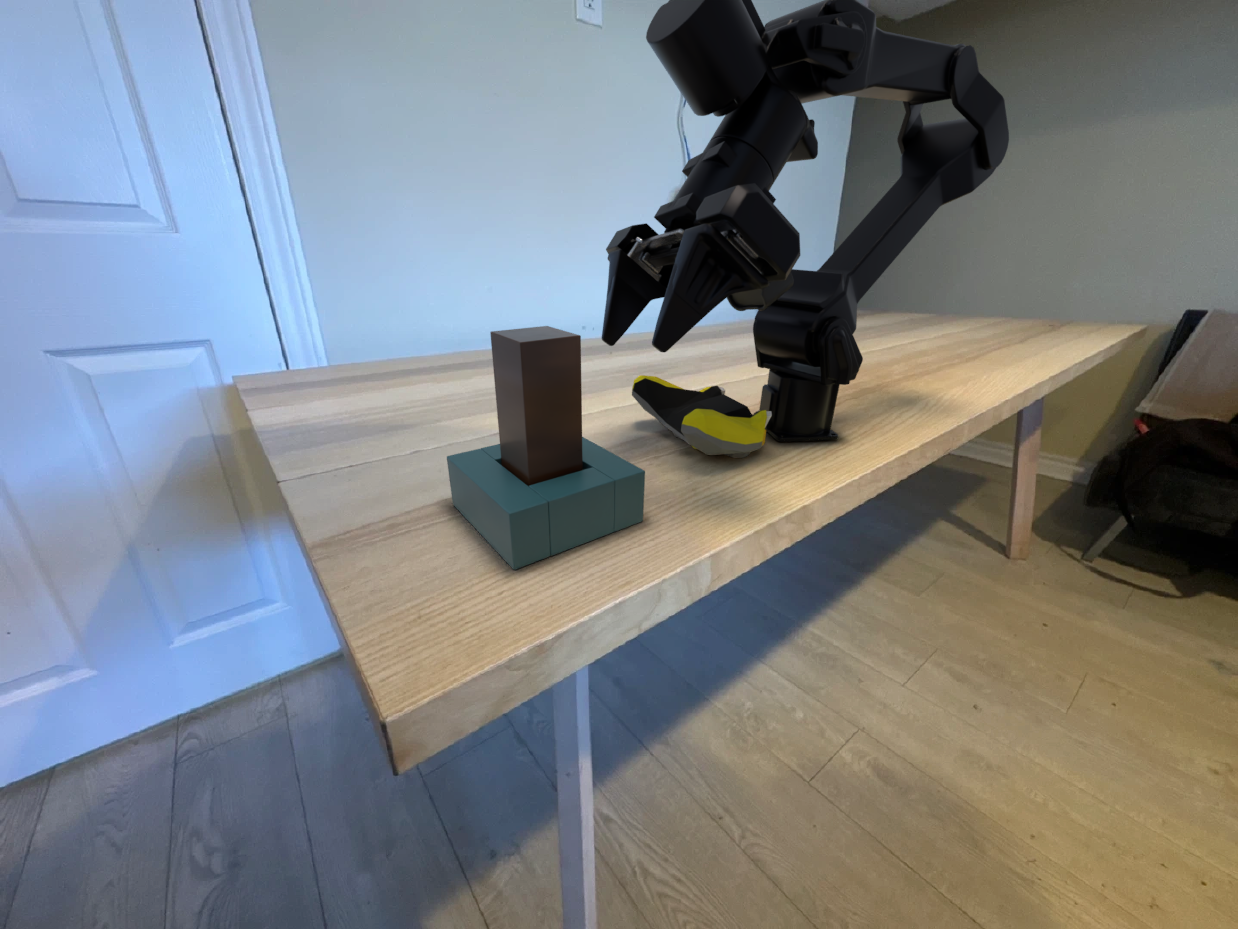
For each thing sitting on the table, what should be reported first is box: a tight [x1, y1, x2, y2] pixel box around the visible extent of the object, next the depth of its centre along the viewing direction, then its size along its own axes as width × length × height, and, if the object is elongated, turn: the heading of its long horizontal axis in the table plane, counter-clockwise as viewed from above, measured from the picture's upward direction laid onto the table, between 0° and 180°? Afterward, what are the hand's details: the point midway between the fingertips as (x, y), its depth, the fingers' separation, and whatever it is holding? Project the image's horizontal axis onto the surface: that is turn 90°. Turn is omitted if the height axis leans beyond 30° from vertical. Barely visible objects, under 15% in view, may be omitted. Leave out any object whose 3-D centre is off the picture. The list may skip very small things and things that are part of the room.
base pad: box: [446, 436, 646, 571], centre depth 37 cm, size 10×10×4 cm
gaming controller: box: [631, 374, 772, 459], centre depth 50 cm, size 15×6×10 cm
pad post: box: [489, 325, 583, 486], centre depth 35 cm, size 4×4×13 cm
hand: (629, 345), depth 39 cm, fingers open, 9 cm apart
